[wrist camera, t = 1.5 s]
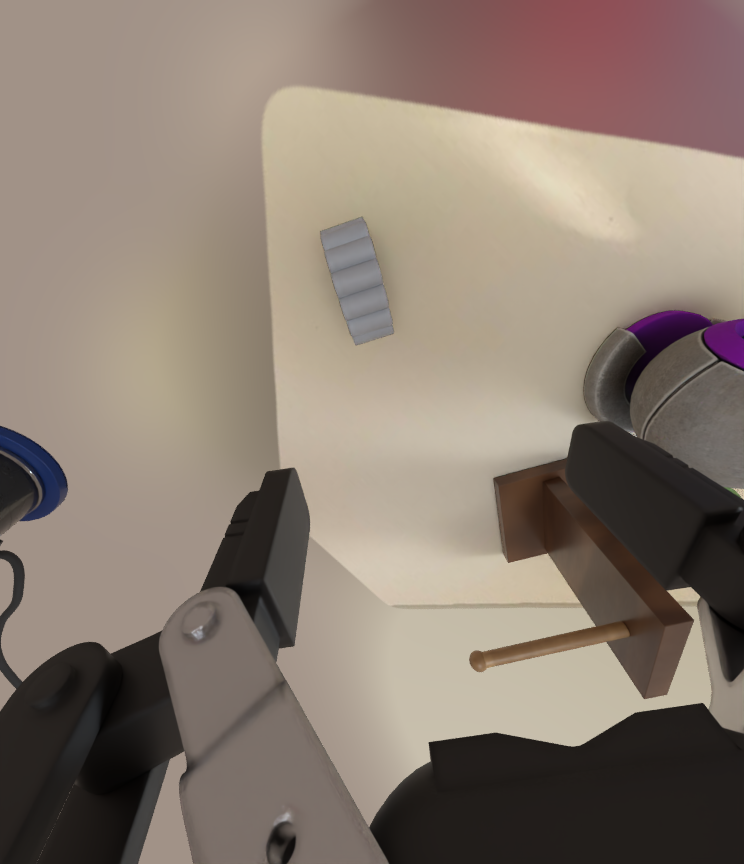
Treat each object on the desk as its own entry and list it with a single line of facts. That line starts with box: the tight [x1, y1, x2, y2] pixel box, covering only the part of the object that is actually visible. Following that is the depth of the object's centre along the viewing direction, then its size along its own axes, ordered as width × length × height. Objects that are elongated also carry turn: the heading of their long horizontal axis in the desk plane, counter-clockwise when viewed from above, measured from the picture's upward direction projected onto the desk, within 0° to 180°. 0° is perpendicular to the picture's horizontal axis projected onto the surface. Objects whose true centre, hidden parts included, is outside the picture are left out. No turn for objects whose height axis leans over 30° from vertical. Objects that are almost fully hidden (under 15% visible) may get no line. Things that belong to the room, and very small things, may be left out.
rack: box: [469, 459, 694, 699], centre depth 34 cm, size 19×14×18 cm
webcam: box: [584, 311, 744, 489], centre depth 26 cm, size 13×13×15 cm
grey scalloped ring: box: [320, 217, 394, 345], centre depth 24 cm, size 3×8×8 cm, turn 17°
